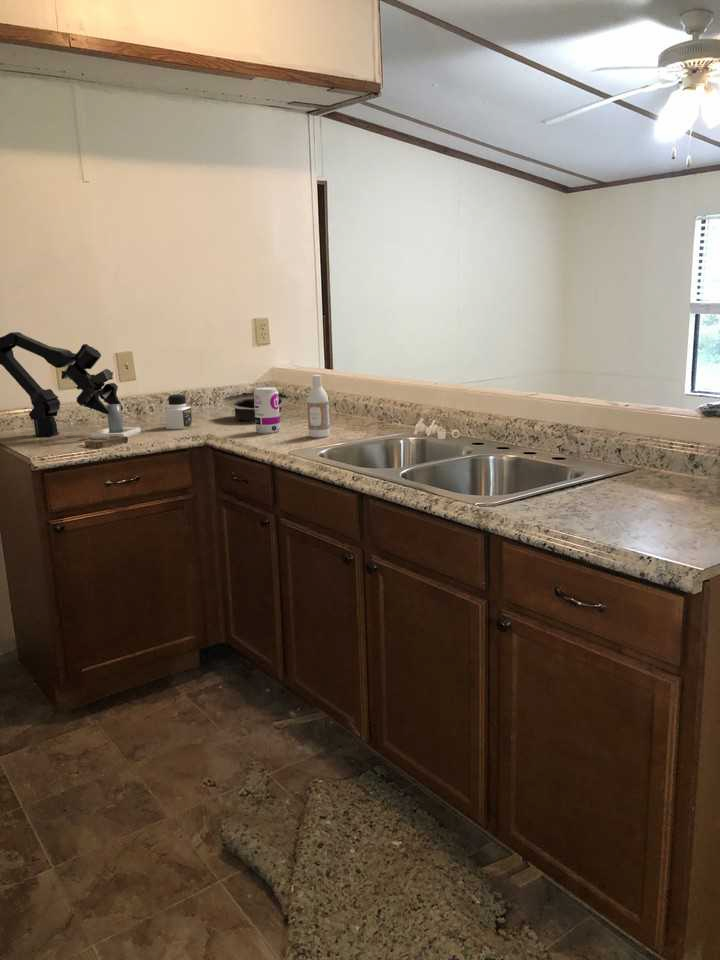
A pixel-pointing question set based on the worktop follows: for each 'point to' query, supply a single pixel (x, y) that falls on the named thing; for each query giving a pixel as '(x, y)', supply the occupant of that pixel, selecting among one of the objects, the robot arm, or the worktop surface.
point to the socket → (107, 441)
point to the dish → (105, 435)
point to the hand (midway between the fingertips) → (115, 411)
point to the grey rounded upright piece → (114, 418)
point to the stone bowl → (249, 405)
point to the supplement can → (266, 410)
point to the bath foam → (318, 410)
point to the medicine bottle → (178, 413)
